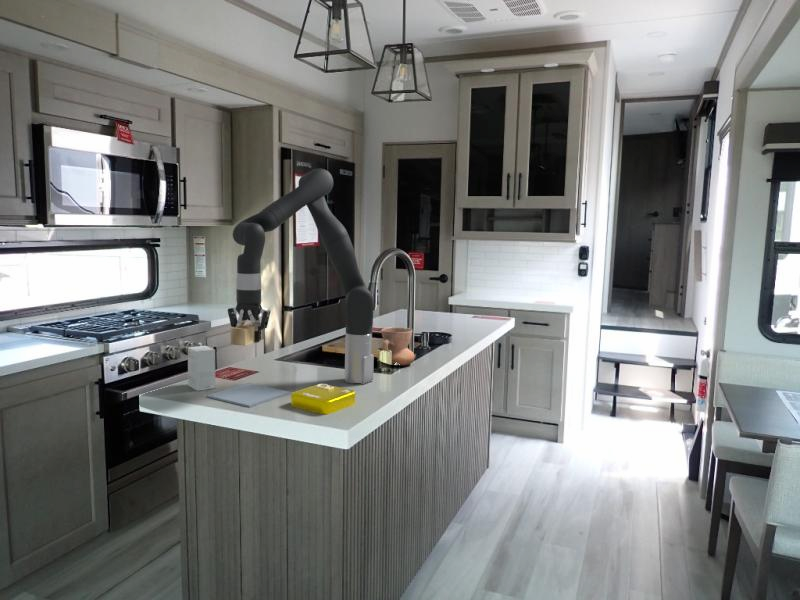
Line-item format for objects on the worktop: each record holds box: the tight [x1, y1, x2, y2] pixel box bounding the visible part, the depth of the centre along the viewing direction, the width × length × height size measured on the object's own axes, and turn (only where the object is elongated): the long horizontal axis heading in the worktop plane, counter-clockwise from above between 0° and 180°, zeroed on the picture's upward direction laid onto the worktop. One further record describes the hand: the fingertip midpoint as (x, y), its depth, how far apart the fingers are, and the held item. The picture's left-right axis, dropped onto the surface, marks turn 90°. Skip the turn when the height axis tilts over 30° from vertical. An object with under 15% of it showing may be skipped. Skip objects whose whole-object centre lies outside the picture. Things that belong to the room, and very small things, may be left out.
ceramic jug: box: [378, 326, 416, 367], centre depth 235 cm, size 18×14×14 cm
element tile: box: [290, 383, 356, 415], centre depth 180 cm, size 15×15×5 cm
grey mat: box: [206, 382, 291, 408], centre depth 187 cm, size 18×18×1 cm
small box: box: [187, 345, 216, 392], centre depth 194 cm, size 8×6×13 cm
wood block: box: [230, 322, 266, 347], centre depth 184 cm, size 5×5×12 cm
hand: (248, 341), depth 185 cm, fingers closed on wood block, 5 cm apart
